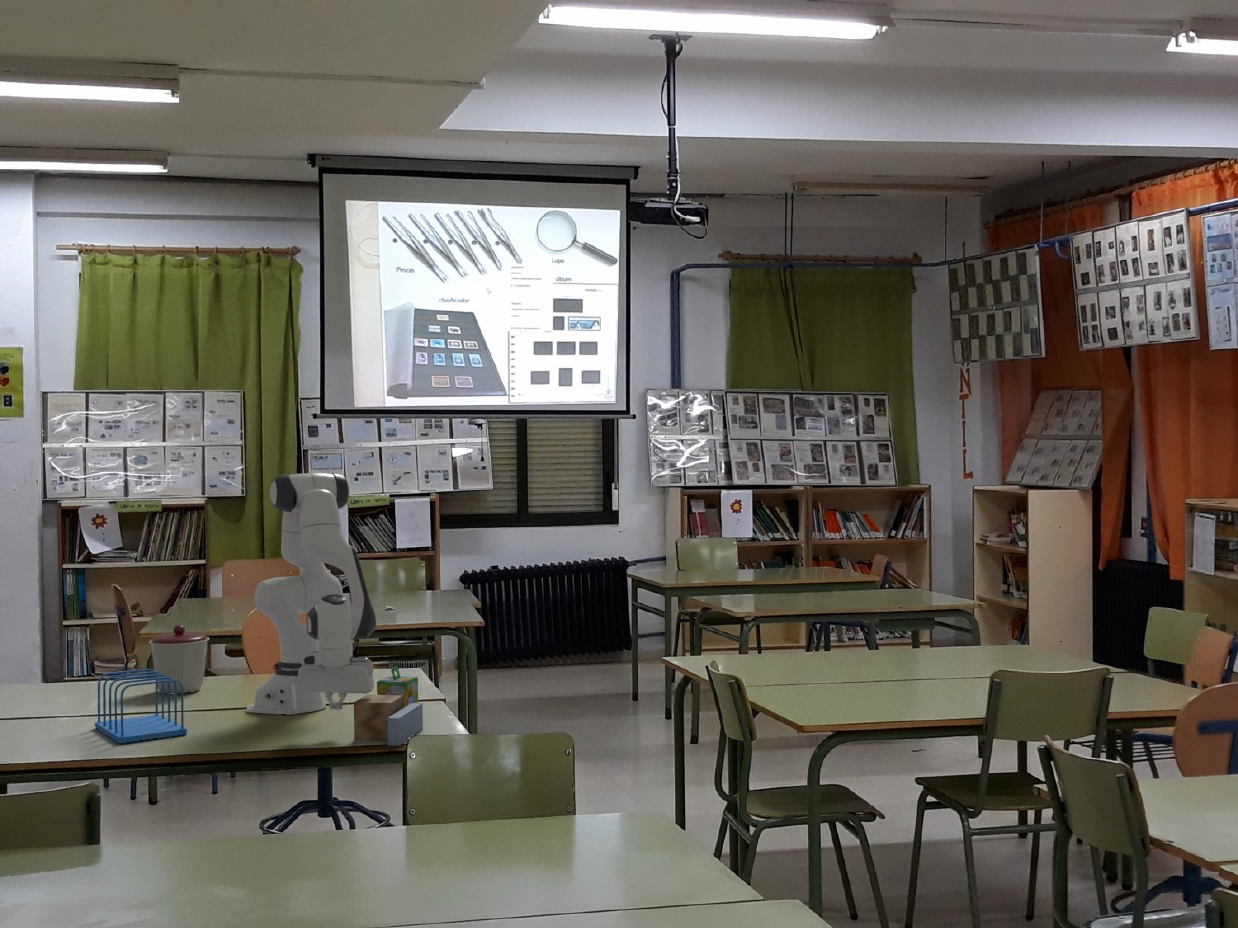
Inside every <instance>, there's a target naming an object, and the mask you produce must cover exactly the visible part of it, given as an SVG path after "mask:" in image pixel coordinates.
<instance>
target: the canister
mask: <svg viewBox="0 0 1238 928" xmlns="http://www.w3.org/2000/svg"><path fill="white" fill-rule="evenodd" d="M172 629H173V630H172V631H173V633H165V634H161V635H157V636H155V637H153V638H152V639H150V640H149V641H148V644H149V645H150V646H151V655H152V663H153V670H154V671H155V672H158V673H160V674H163V675H166V676H167V677H170V678H172V679H174V680H177V681H179V682H180V683H181V684H182V686H183V693H184V692H191V691H195V690H197V691H199V690H201V688H202V686H203V685H204V684H203V683H204V678H205V670H206V661H207V650H208V641H209V640H210V637H209V636H206V634H204V633H200V632H185V631H186V628H185V626H184V625H182V624H178V625H175V626H173V628H172ZM157 677H158V678H159V677H160V676H157ZM163 680H167V679H163ZM169 680H170V679H169ZM158 681H161V680H158ZM176 687H177V693H181V687H180V685H179V684H178V683H177V682H176ZM160 691H161V692H160ZM158 692H160V693H162V686H161V683H158ZM195 692H196V691H195ZM165 693H168V682H165V683H164V694H165ZM170 693H174V683H173V682H170ZM191 693H192V692H191Z"/></svg>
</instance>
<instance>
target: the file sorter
mask: <svg viewBox="0 0 1238 928" xmlns="http://www.w3.org/2000/svg"><path fill="white" fill-rule="evenodd" d="M109 675H110V676H109ZM107 676H108V677H107ZM157 676H160V677H159V678H158V677H157ZM104 677H107V678H106V679H105V680H104V682H103V685H102V687H103V688H102V699H103V700H102V704H103V705H102V706H103V708H102V709H103V711H102V713H103V714H102V715H103V721H101V681H102V680H103V678H104ZM111 679H114V680H113V681H112V682H111V683H110V684H109V688H108V720H107V719H106V718H107V716H106V715H107V714H106V713H107V712H106V711H107V710H106V708H107V706H106V704H107V703H106V701H107V699H106V697H107V695H106V689H107V688H106V687H107V683H108V681H109V680H111ZM163 679H167V680H163ZM169 679H170V680H169ZM158 680H161V681H158ZM120 681H122V682H120ZM117 682H120V683H118V684H117V685H116V687H115V689H114V695H113V696H114V719H112V688H113V685H114V684H115V683H117ZM165 682H168V694H167V717H165V693H164V683H165ZM170 682H173V683H174V694H173V695H174V697H173V699H174V700H173V702H174V711H173V712H174V721H172V720H171V694H170ZM176 682H177V683H178V684H179V685H180V687H181V694H180V713H181V714H180V720H181V721H180V722H181V723H180V724H179V723H178V710H177V709H178V704H177V702H178V701H177V700H178V699H177V698H178V697H177V695H178V694H177V687H176ZM158 683H161V686H162V692H161V715H160V714H159V712H158V711H159V701H158V700H159V699H158V698H159V693H158V692H159V689H158ZM124 684H127V685H126V686H124V687H123V689H121V692H120V718H118V704H117V703H118V701H117V700H118V699H117V698H118V689H119V688H120V687H121V686H122V685H124ZM153 684H154V685H155V714H152V715H145V716H137V717H136V716H135V717H127V718H124V693H125V691H126V690H127V689H128V688H130V687H136V686H137V687H138V686H144V685H153ZM184 715H185V714H184V694H183V686H182V684H181V683H180V682H179V681H177V680H174V679H172V678H170V677H167V676H166V675H163V674H160V673H158V672H155V671H154V669H151V668H143V669H142V668H141V669H133V670H123V671H116V672H115V671H114V672H113V671H111V672H105V673H103V674H102V675H101V676H100V677H99V679H98V680H97V721H96V722H94V728H95V727H96V728H98V729H99V730H101V731H102V732H103V733H102V732H101V733H102V734H104V733H105V734H106V735H105V734H104V735H105V736H107V735H108V736H109V738H110V739H111V740H113V739H114V740H113V741H115V742H117V743H118V744H121V743H123V744H127V743H126V742H131V743H135V742H140V740H142V741H148V740H147V739H149V740H153V739H152V738H157V739H162V738H163V739H164V738H170V737H172V736H175V737H179V736H178V735H182V736H186V735H188V732H187V731H188V729H187V727H184V726H185V725H184V724H185V723H184ZM96 728H95V729H96ZM99 730H98V731H99ZM184 734H185V735H184ZM108 736H107V737H108ZM134 741H135V742H134Z"/></svg>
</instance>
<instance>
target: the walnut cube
mask: <svg viewBox="0 0 1238 928" xmlns="http://www.w3.org/2000/svg"><path fill="white" fill-rule="evenodd" d="M401 709H403V695H377V694H366V695H364V696H363V697H361V698H359V699H357V700H355V701H353V741H359V740H362V742H363V740H364V742H366V741H367V742H369V741H370V742H372V741H373V742H388V717H390V716H392V715H393V714H395V713H396V712H398V711H400V710H401Z"/></svg>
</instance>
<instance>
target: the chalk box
mask: <svg viewBox="0 0 1238 928" xmlns="http://www.w3.org/2000/svg"><path fill="white" fill-rule="evenodd" d="M390 670H391V675H392V676H387V677H384V678H381V679H379V680H378V681H376V695H403V708H405V707H406V706H408V705H409V704H411V703H419V678H418V676H417V677H416V676H401V674H400V671H399V667H398V666H397V665H396V666H393V667H392V668H391V669H390ZM395 672H396V674H395Z"/></svg>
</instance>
